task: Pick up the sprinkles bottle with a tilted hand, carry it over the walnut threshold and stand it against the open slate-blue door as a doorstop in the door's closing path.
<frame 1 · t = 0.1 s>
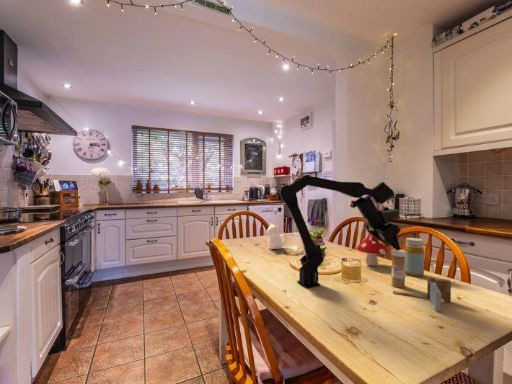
hand: (392, 246, 94), 15 cm above the table, tool tilted 35°, fingers open, 9 cm apart
bottle: (413, 274, 107), on the table
door: (437, 296, 78), point 3 cm above the table, hinge at 90.0°
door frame: (431, 298, 84), on the table
cat figurine: (276, 248, 151), on the table
decorative mushroom: (372, 265, 119), on the table
sprinkles bottle: (398, 286, 95), on the table
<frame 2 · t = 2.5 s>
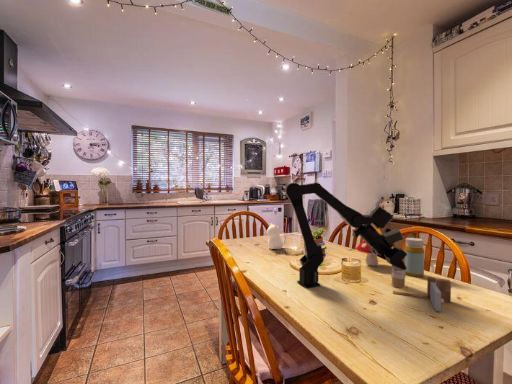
hand: (402, 267, 95), 7 cm above the table, tool tilted 45°, fingers closed on sprinkles bottle, 4 cm apart
sprinkles bottle: (398, 286, 95), on the table, touching gripper
everything else where it was.
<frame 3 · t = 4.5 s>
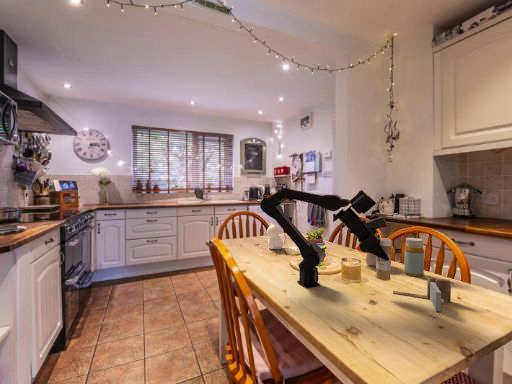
hand: (388, 258, 85), 13 cm above the table, tool tilted 45°, fingers closed on sprinkles bottle, 4 cm apart
sprinkles bottle: (383, 279, 86), point 6 cm above the table, touching gripper
everything else where it was.
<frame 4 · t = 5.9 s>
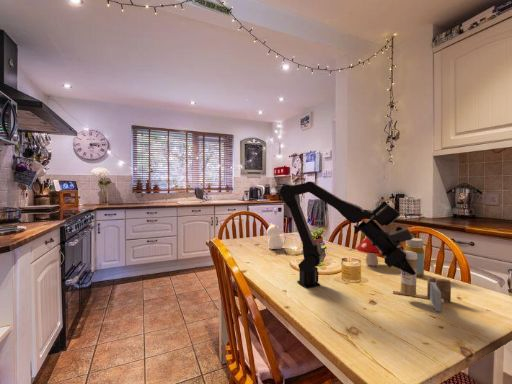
hand: (413, 272, 82), 10 cm above the table, tool tilted 45°, fingers closed on sprinkles bottle, 4 cm apart
sprinkles bottle: (408, 293, 82), point 2 cm above the table, touching gripper
everything else where it was.
when the fingers open (8 cm above the table, at t = 6.8 s): sprinkles bottle stays where it is, on the table.
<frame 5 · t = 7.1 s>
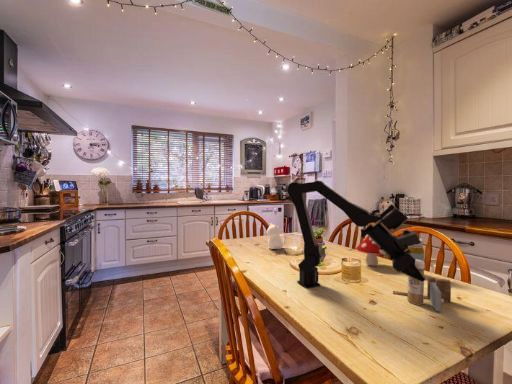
hand: (421, 276, 81), 9 cm above the table, tool tilted 45°, fingers open, 8 cm apart
sprinkles bottle: (415, 302, 82), on the table
everything else where it was.
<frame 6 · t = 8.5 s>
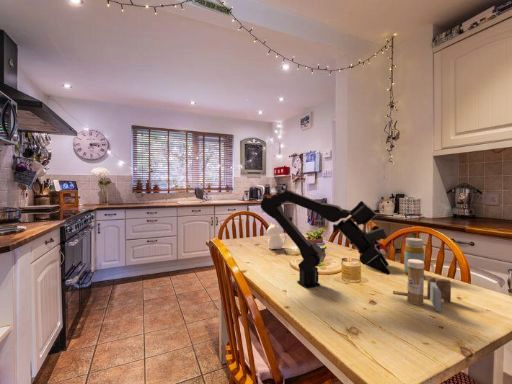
hand: (388, 269, 85), 9 cm above the table, tool tilted 45°, fingers open, 9 cm apart
nothing on the table moved.
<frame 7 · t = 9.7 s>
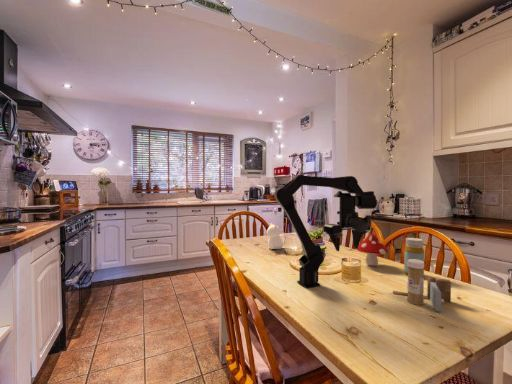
hand: (347, 249, 97), 13 cm above the table, tool pointing down, fingers open, 9 cm apart
nothing on the table moved.
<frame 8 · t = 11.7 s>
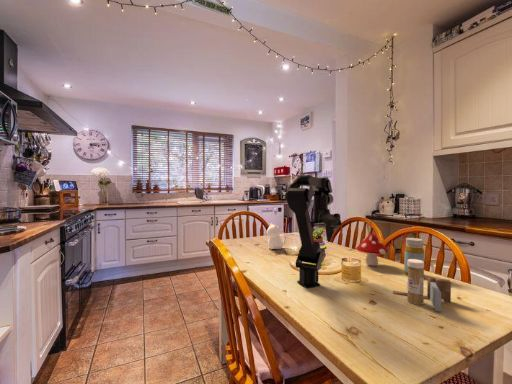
hand: (320, 242, 108), 13 cm above the table, tool pointing down, fingers open, 9 cm apart
nothing on the table moved.
at the end: sprinkles bottle 0.3 cm from the target spot, on the table; sprinkles bottle tilted 1°; door at +90° (first picture: +90°) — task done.
